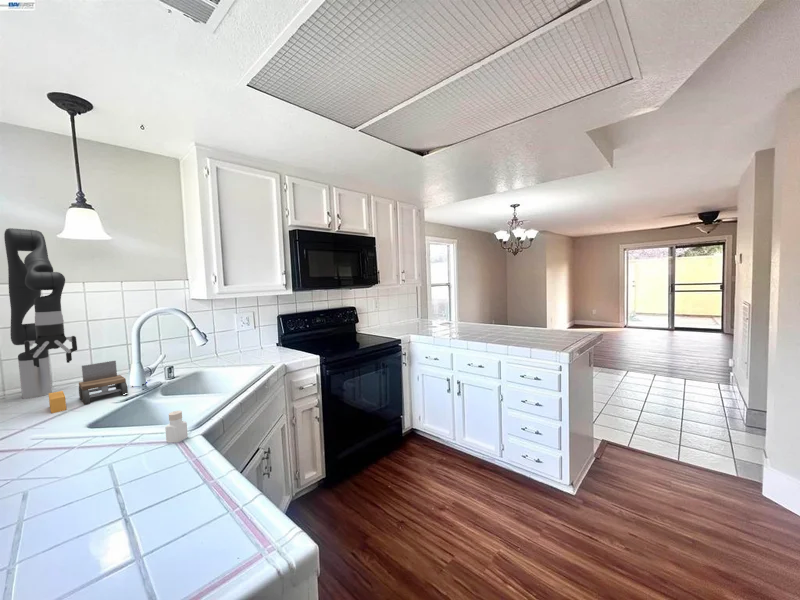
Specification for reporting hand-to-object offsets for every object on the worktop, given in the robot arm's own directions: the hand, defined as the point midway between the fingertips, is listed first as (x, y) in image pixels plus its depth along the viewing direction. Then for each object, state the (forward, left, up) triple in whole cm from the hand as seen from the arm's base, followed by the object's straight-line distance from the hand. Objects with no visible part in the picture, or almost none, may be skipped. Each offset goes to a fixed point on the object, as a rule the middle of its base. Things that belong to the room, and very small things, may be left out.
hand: (53, 364), depth 128 cm
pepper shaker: (+75, +19, -18) cm, 80 cm away
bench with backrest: (-3, +14, -18) cm, 23 cm away
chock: (0, 0, -18) cm, 18 cm away
